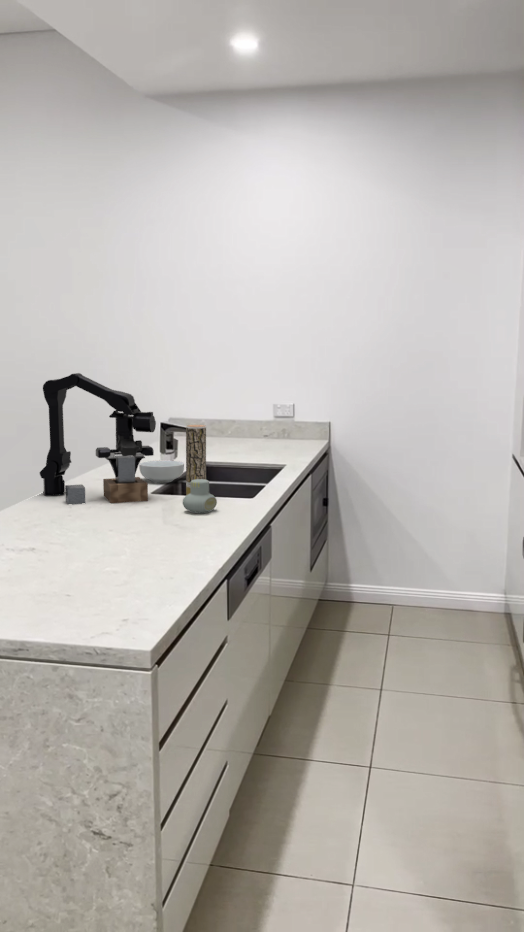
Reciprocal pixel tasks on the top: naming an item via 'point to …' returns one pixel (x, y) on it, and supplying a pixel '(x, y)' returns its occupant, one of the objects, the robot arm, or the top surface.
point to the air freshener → (199, 497)
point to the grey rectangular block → (125, 469)
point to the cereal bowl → (161, 470)
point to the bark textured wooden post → (195, 454)
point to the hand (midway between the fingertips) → (125, 476)
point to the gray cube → (75, 494)
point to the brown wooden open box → (125, 491)
